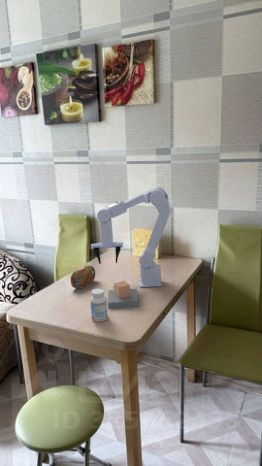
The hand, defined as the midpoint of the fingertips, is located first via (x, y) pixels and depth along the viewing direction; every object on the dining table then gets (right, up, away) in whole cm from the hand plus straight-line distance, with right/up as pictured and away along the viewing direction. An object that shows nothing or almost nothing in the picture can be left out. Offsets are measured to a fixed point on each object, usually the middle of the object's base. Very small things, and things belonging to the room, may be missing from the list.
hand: (108, 262), depth 164 cm
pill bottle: (-1, -19, -30) cm, 36 cm away
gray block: (+7, -15, -16) cm, 23 cm away
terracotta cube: (+7, -12, -17) cm, 22 cm away
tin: (-11, -11, +1) cm, 16 cm away
